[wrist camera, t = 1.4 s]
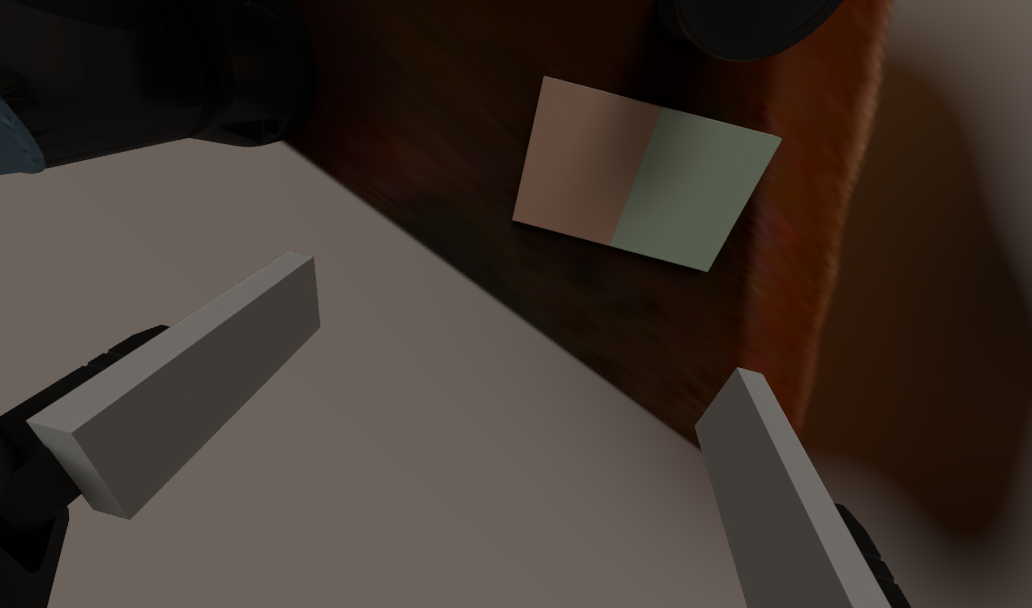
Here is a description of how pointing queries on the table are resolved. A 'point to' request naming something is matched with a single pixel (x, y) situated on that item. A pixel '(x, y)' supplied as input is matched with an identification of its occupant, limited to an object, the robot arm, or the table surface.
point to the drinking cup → (744, 24)
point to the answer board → (637, 174)
